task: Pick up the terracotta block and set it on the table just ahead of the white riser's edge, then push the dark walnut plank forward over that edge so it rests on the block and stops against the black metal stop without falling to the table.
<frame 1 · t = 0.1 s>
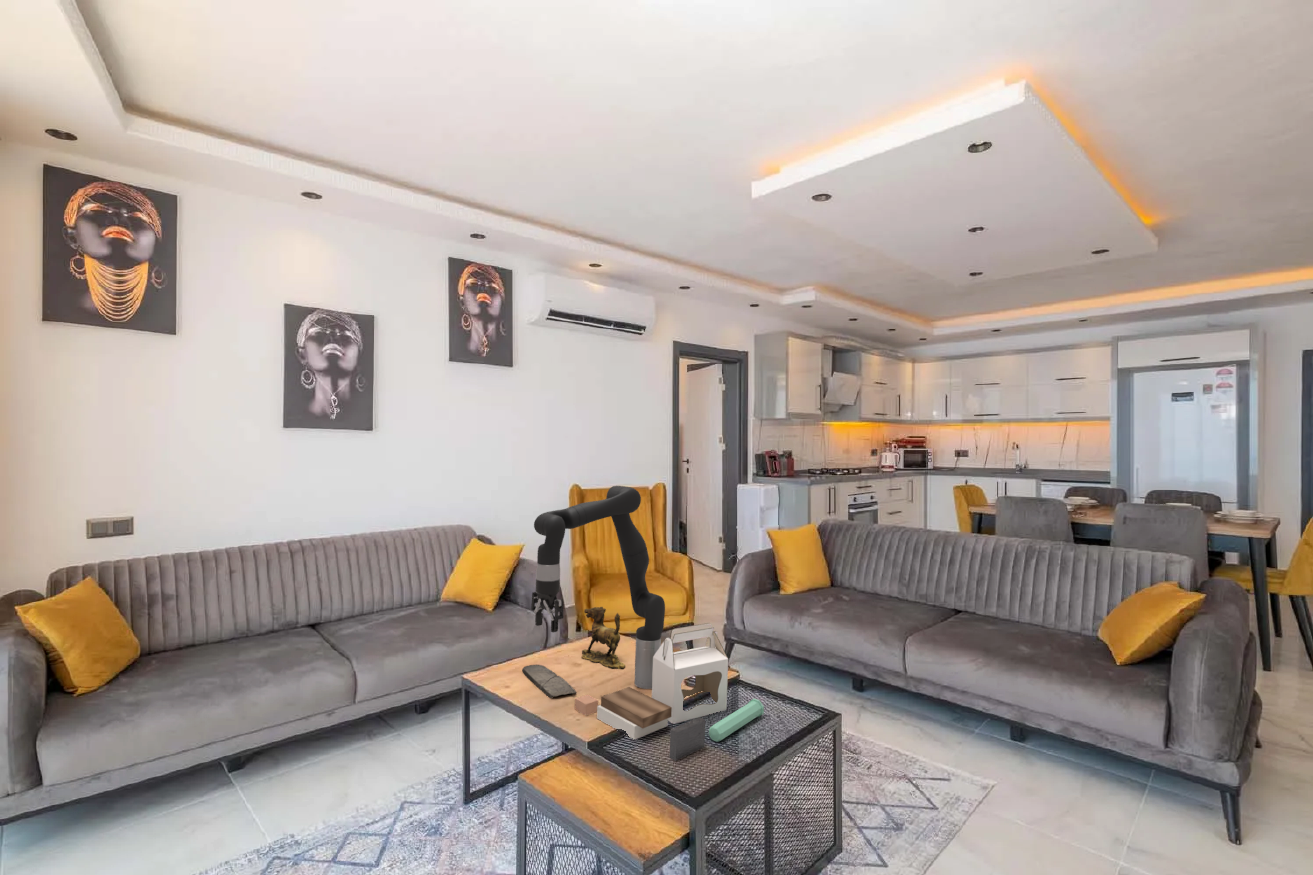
hand: (546, 628, 198), 29 cm above the table, tool pointing down, fingers open, 8 cm apart
stone slab: (547, 684, 228), on the table
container: (735, 729, 197), on the table
support block: (586, 710, 206), on the table
gable box: (688, 709, 209), on the table
stop: (687, 752, 181), on the table
plank: (635, 711, 197), point 4 cm above the table, touching riser
riser: (631, 722, 198), on the table
figurine: (603, 660, 252), on the table
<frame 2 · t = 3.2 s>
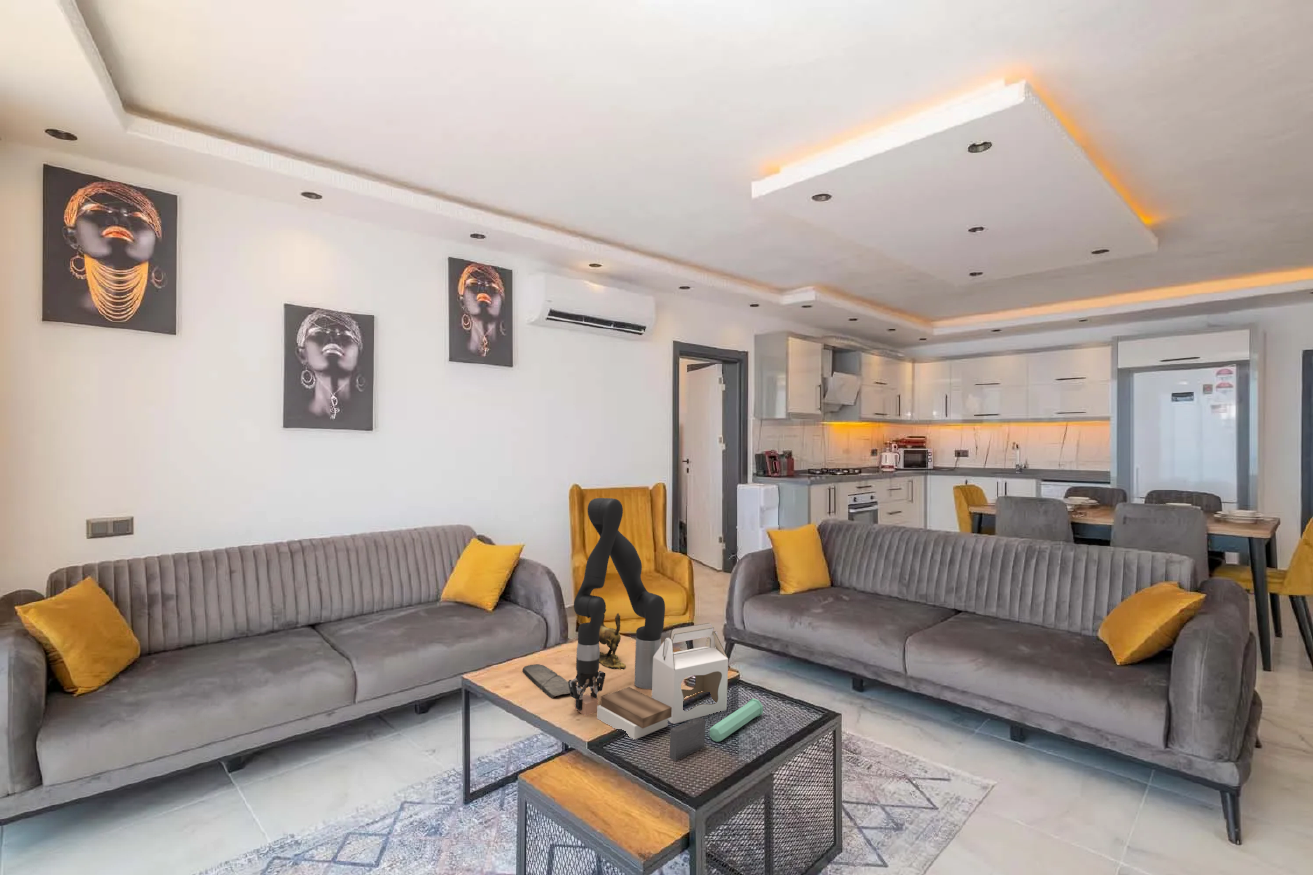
hand: (586, 706, 206), 1 cm above the table, tool pointing down, fingers closed on support block, 5 cm apart
support block: (586, 710, 206), on the table, touching gripper
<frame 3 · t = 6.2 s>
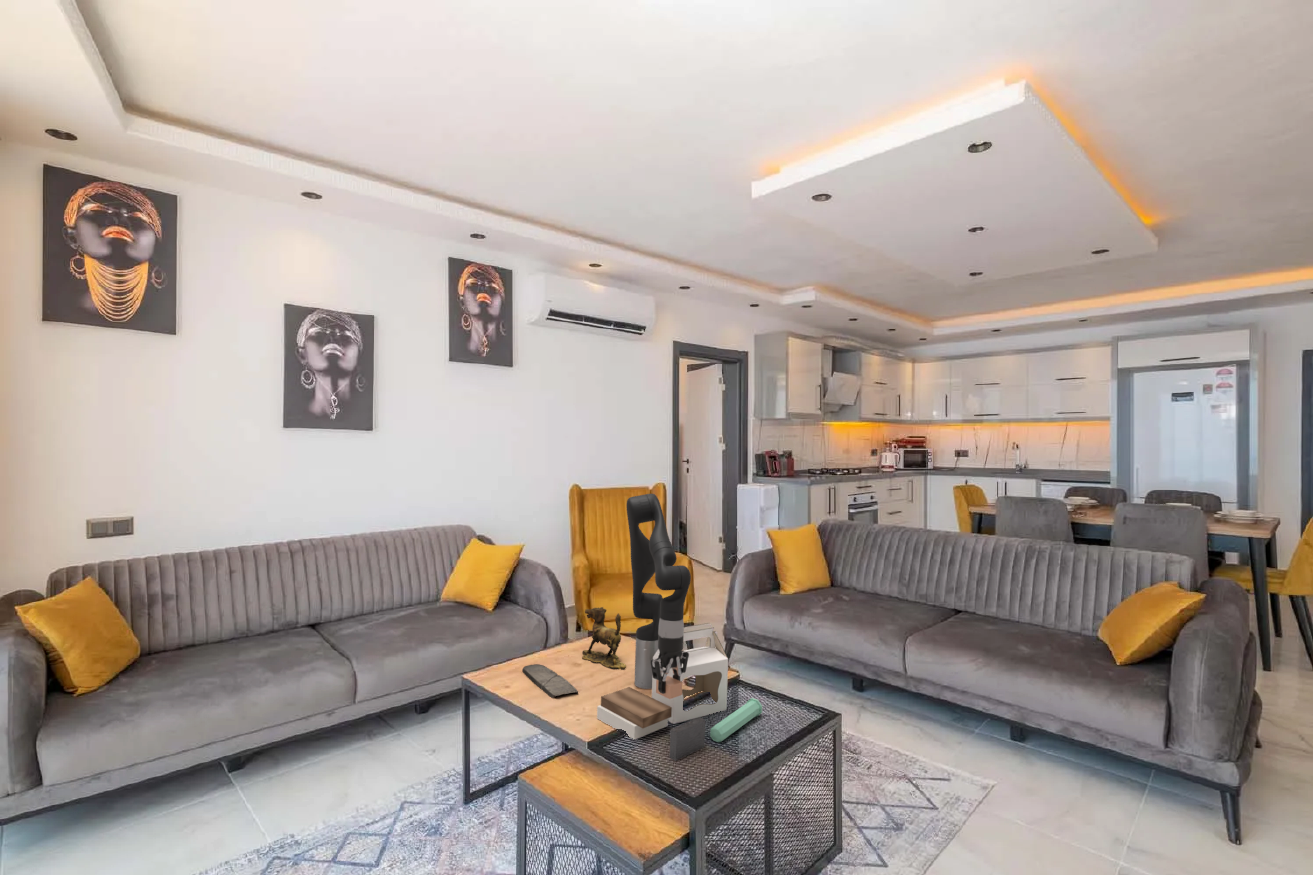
hand: (669, 690, 186), 16 cm above the table, tool pointing down, fingers closed on support block, 5 cm apart
support block: (668, 693, 186), point 15 cm above the table, touching gripper
everything else where it was.
when the fingers open (2 cm above the table, at t = 9.4 s): support block drops 1 cm, on the table.
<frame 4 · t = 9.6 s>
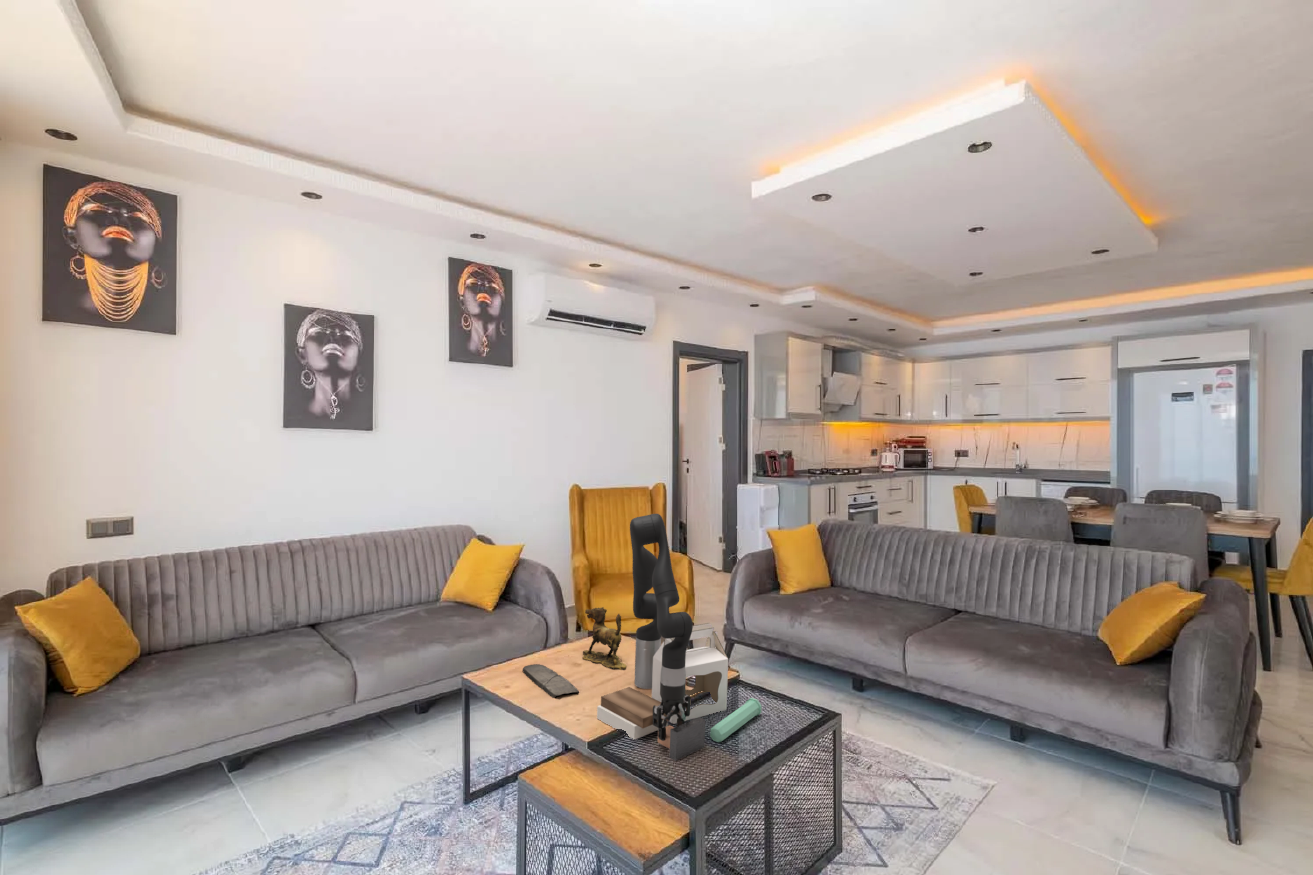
hand: (671, 735, 186), 2 cm above the table, tool pointing down, fingers open, 7 cm apart
support block: (670, 743, 186), on the table
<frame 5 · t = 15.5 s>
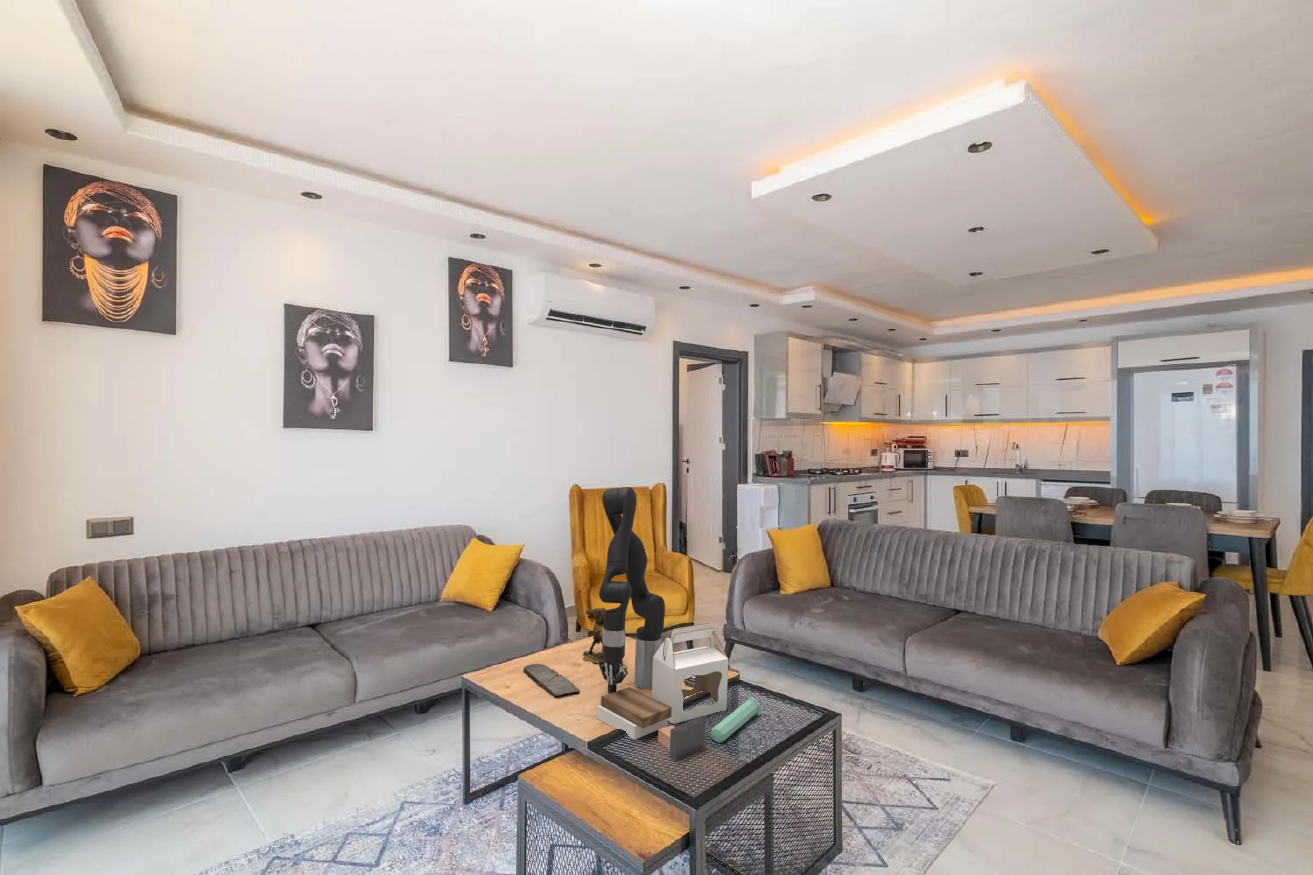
hand: (611, 694, 206), 6 cm above the table, tool pointing down, fingers closed
plank: (635, 711, 197), point 4 cm above the table, touching gripper, riser
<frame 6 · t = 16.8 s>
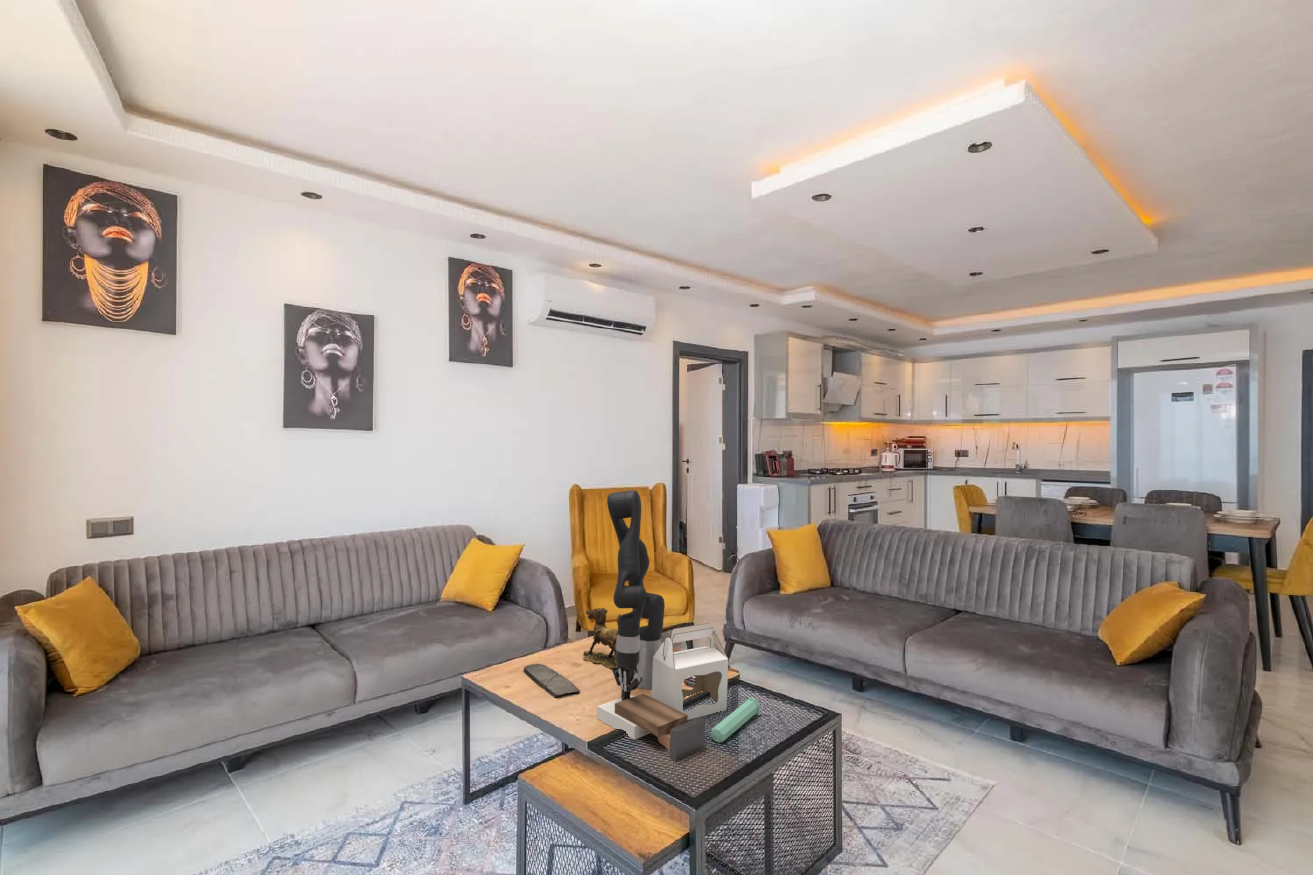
hand: (625, 701, 201), 6 cm above the table, tool pointing down, fingers closed
plank: (650, 718, 192), point 4 cm above the table, touching gripper, riser
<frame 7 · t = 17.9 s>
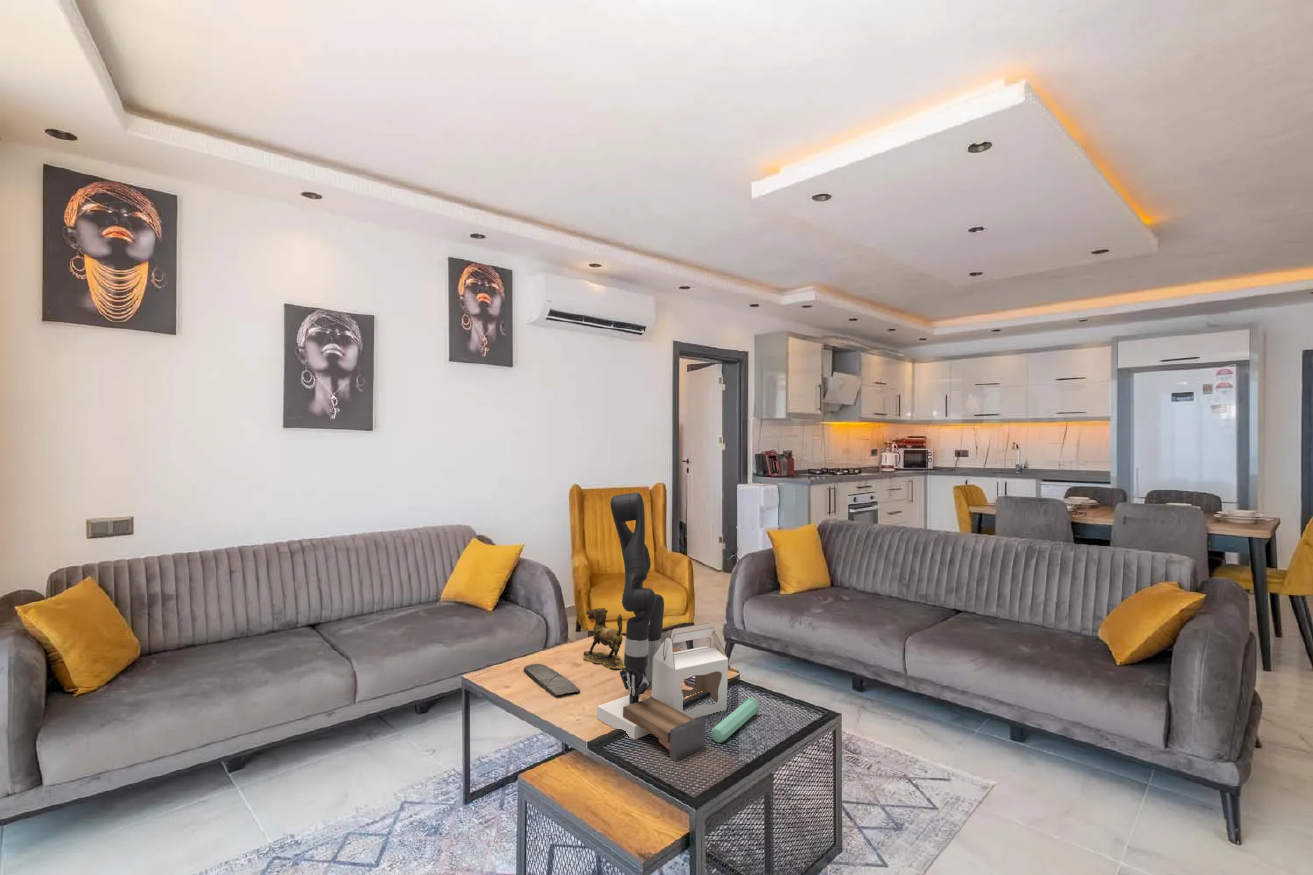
hand: (633, 705, 198), 6 cm above the table, tool pointing down, fingers closed
plank: (659, 723, 190), point 4 cm above the table, touching gripper, riser
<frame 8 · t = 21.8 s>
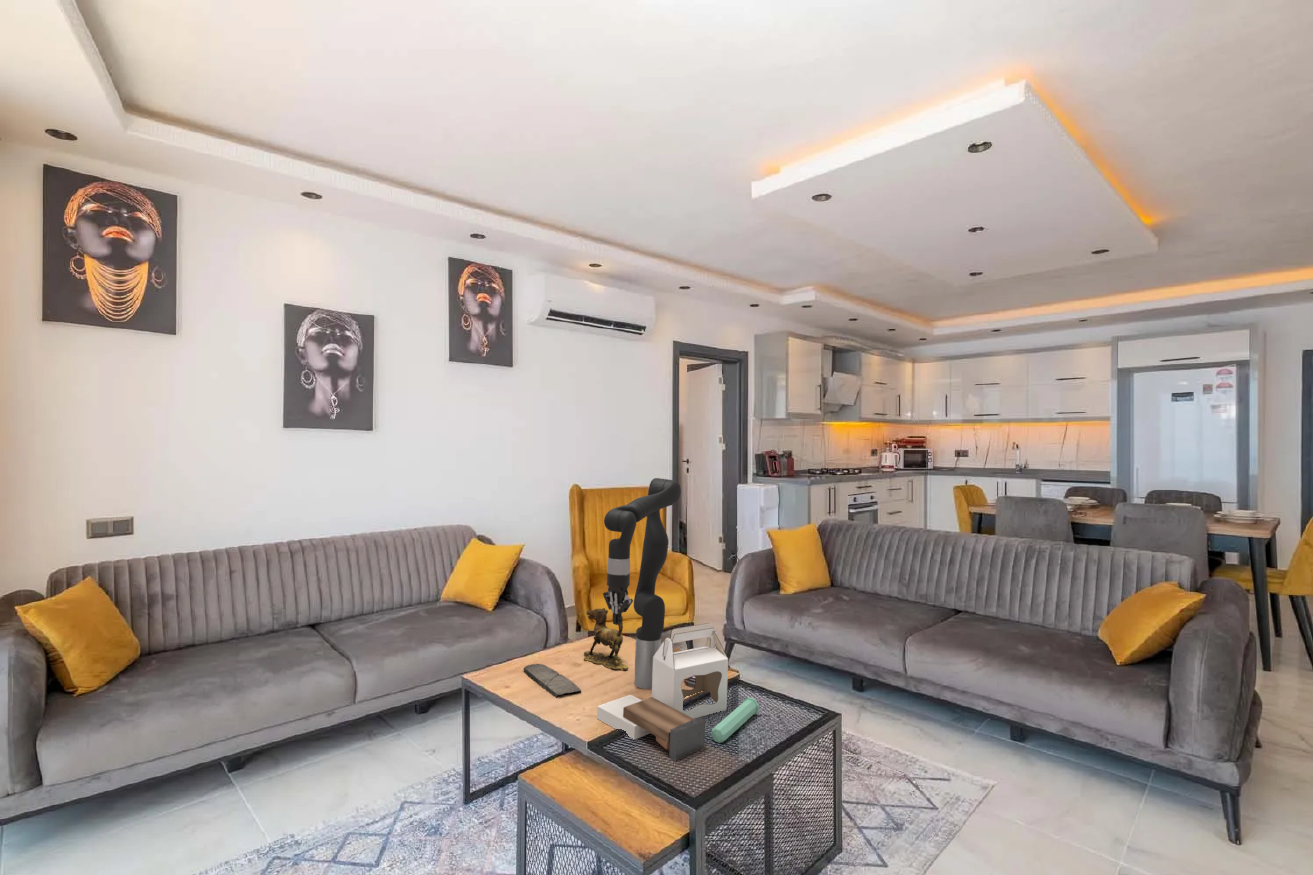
hand: (616, 624, 205), 29 cm above the table, tool pointing down, fingers closed
support block: (668, 743, 186), on the table, touching plank
plank: (659, 723, 190), point 4 cm above the table, touching riser, support block
at the end: plank 0.5 cm from the target spot, point 3.9 cm above the table; plank touching riser, support block; plank tilted 1° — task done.
